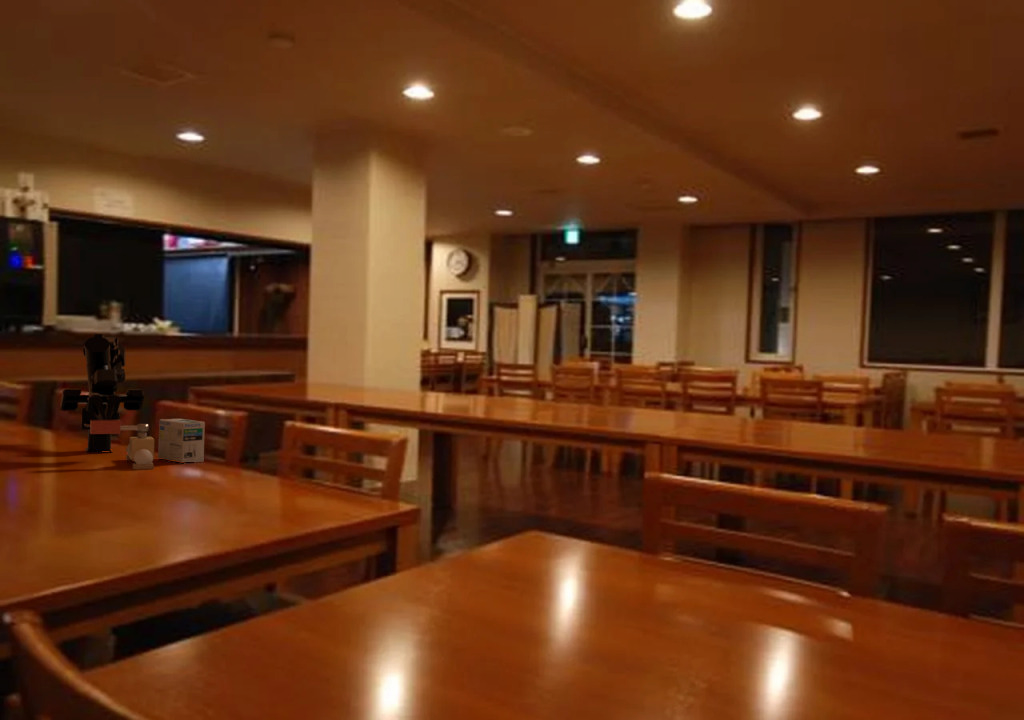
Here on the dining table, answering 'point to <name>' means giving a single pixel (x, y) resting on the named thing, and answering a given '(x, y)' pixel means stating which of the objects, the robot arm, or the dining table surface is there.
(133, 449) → the valve
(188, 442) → the light bulb box
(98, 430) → the valve lever
